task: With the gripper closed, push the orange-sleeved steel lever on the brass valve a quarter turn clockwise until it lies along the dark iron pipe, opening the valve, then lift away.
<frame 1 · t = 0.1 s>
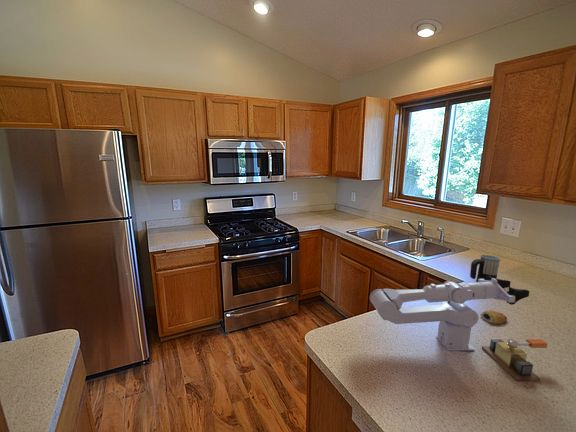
hand: (518, 288, 97), 22 cm above the worktop, tool horizontal, fingers open, 7 cm apart
pastry: (492, 320, 117), on the worktop
milk frother: (488, 286, 150), on the worktop
valve: (510, 353, 90), on the plank, point 4 cm above the worktop
lever: (526, 343, 90), point 7 cm above the worktop, hinge at 0.0°
plank: (508, 363, 91), on the worktop
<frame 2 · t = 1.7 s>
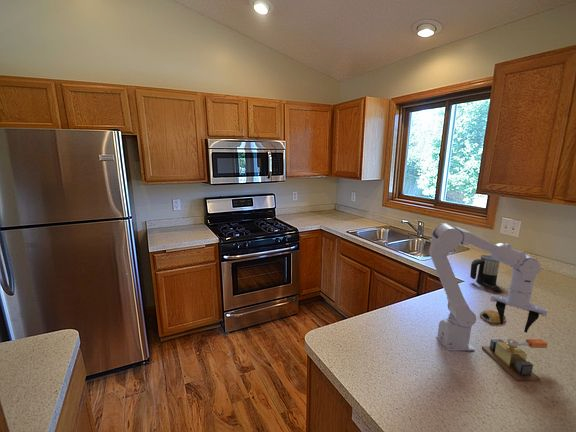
hand: (513, 327, 95), 9 cm above the worktop, tool pointing down, fingers open, 6 cm apart
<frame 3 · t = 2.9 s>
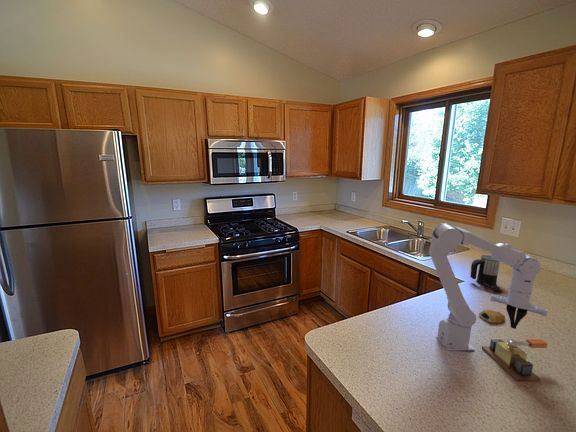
hand: (513, 327, 95), 9 cm above the worktop, tool pointing down, fingers closed
nothing on the worktop moved.
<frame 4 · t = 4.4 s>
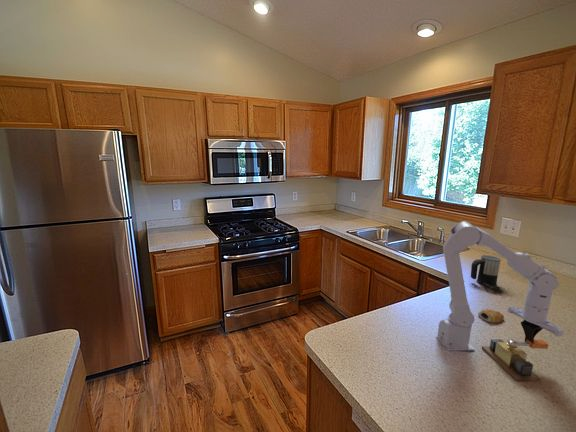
hand: (528, 343, 92), 6 cm above the worktop, tool pointing down, fingers closed, pressing on lever
lever: (526, 343, 90), point 7 cm above the worktop, hinge at -2.2°, touching gripper
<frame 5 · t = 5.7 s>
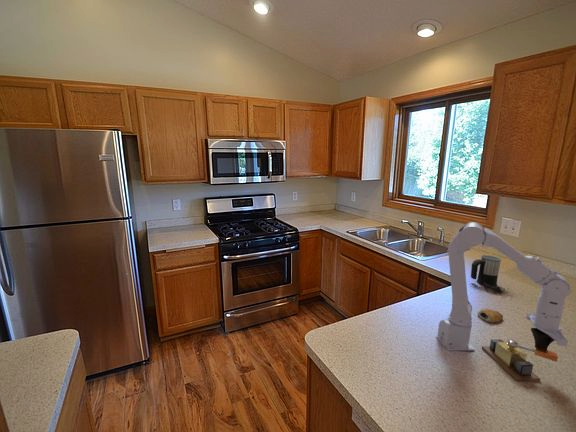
hand: (540, 352, 87), 6 cm above the worktop, tool pointing down, fingers closed, pressing on lever
lever: (530, 349, 87), point 7 cm above the worktop, hinge at -38.3°, touching gripper
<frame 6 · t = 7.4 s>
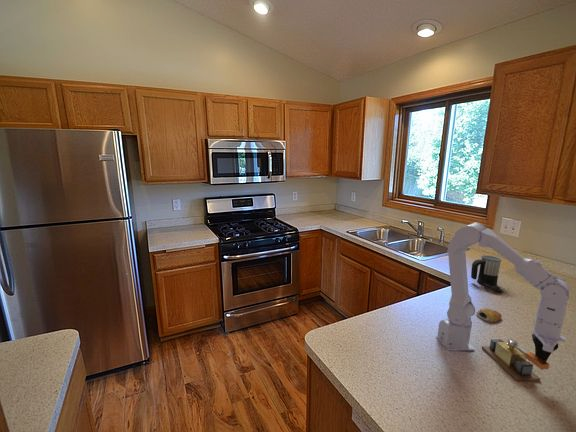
hand: (540, 360, 83), 6 cm above the worktop, tool pointing down, fingers closed
lever: (525, 353, 85), point 7 cm above the worktop, hinge at -85.0°, touching gripper
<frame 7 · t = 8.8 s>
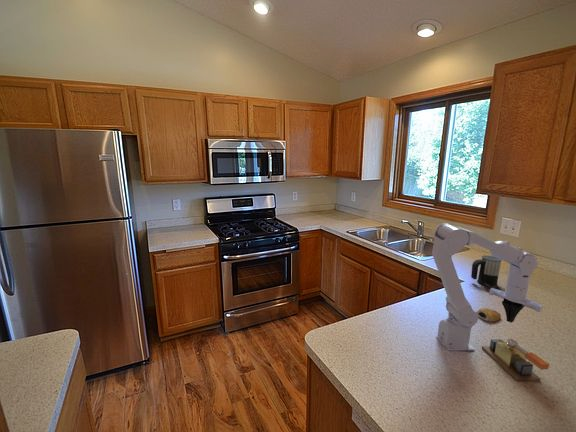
hand: (510, 321, 98), 10 cm above the worktop, tool pointing down, fingers closed
lever: (525, 353, 85), point 7 cm above the worktop, hinge at -85.5°
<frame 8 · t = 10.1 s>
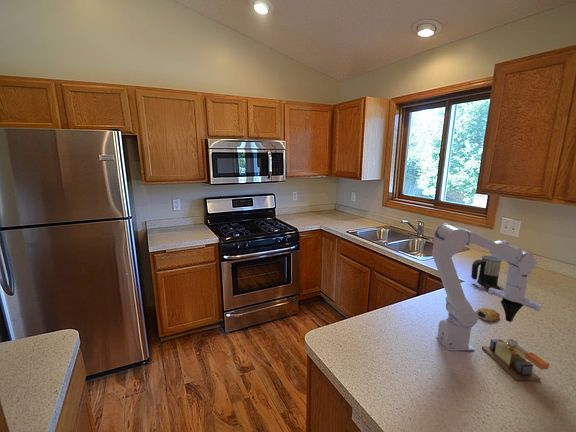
hand: (509, 320, 98), 10 cm above the worktop, tool pointing down, fingers closed
at the end: lever at -86° (first picture: +0°) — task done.
